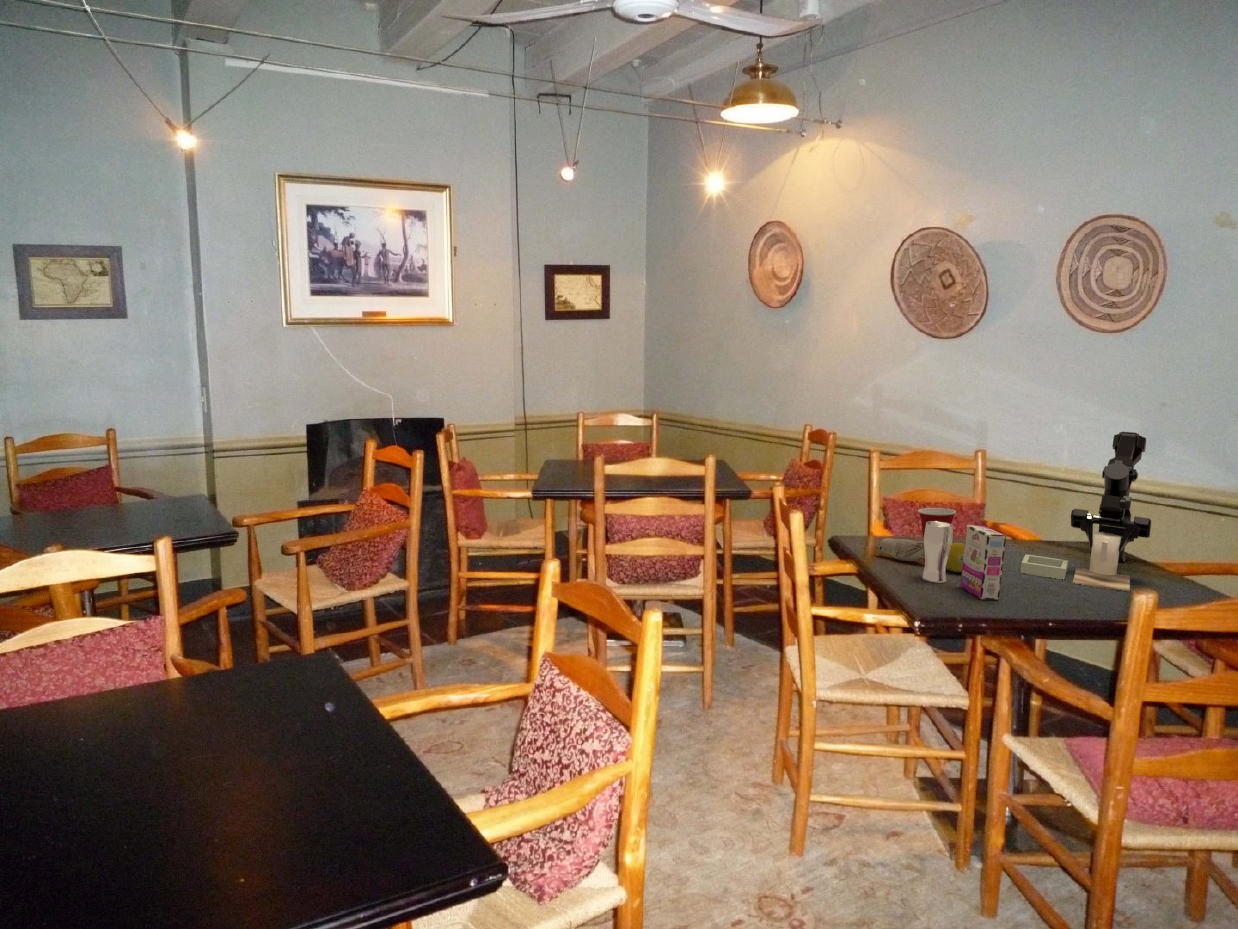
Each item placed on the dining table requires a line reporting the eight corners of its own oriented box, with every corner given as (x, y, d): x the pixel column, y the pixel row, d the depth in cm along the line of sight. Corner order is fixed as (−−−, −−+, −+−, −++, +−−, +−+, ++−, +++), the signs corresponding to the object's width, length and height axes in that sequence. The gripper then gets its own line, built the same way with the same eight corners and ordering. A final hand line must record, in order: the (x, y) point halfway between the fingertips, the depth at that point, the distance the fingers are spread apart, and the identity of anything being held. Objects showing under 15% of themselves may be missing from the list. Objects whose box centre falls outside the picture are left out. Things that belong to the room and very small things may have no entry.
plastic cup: (920, 542, 269) (924, 504, 267) (956, 548, 262) (960, 509, 261) (909, 548, 260) (913, 509, 258) (946, 555, 254) (950, 515, 252)
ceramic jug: (1090, 566, 236) (1095, 531, 234) (1117, 571, 232) (1122, 535, 230) (1087, 573, 229) (1091, 536, 228) (1114, 577, 226) (1119, 540, 224)
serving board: (1075, 570, 242) (1076, 568, 242) (1129, 578, 235) (1129, 576, 235) (1072, 583, 228) (1072, 581, 228) (1129, 592, 222) (1129, 590, 221)
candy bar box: (1000, 600, 211) (1007, 535, 208) (980, 600, 211) (987, 534, 208) (978, 587, 222) (984, 524, 219) (959, 586, 222) (965, 524, 219)
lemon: (935, 572, 234) (938, 543, 233) (938, 565, 241) (941, 537, 240) (978, 578, 230) (981, 549, 229) (980, 571, 237) (983, 543, 236)
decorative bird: (880, 554, 252) (883, 529, 251) (935, 565, 242) (938, 539, 241) (873, 558, 248) (875, 532, 247) (928, 569, 238) (931, 542, 237)
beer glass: (944, 576, 230) (949, 521, 228) (951, 584, 224) (957, 527, 221) (917, 575, 231) (922, 520, 229) (923, 582, 224) (929, 526, 222)
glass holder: (1024, 564, 246) (1025, 554, 245) (1066, 571, 240) (1068, 560, 240) (1020, 573, 237) (1021, 562, 236) (1064, 580, 231) (1065, 569, 231)
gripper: (1075, 479, 236) (1065, 526, 229) (1155, 488, 226) (1147, 537, 218) (1076, 503, 244) (1066, 549, 236) (1153, 513, 233) (1145, 561, 226)
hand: (1105, 548), depth 229 cm, fingers closed on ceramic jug, 6 cm apart
